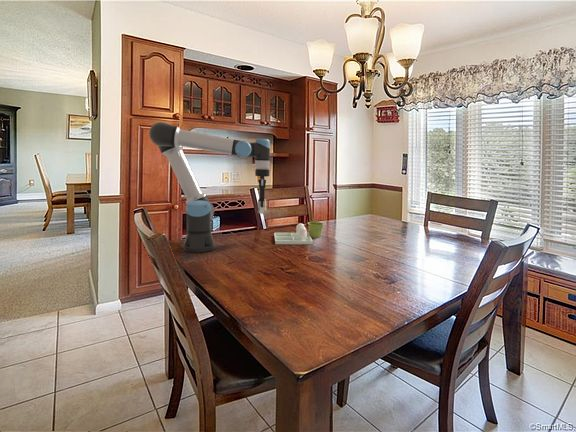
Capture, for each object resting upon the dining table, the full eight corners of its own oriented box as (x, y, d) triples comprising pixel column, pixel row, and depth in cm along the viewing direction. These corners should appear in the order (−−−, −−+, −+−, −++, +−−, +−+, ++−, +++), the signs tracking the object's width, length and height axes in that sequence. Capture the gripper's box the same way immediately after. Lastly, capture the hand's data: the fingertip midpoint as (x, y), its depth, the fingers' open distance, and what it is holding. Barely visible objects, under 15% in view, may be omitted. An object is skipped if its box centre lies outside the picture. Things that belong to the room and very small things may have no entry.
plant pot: (323, 236, 204) (324, 222, 203) (323, 240, 195) (324, 225, 193) (307, 235, 205) (308, 221, 203) (306, 239, 196) (307, 224, 194)
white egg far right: (298, 242, 184) (298, 227, 183) (297, 240, 189) (297, 226, 187) (306, 242, 184) (307, 227, 183) (305, 240, 189) (306, 226, 187)
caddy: (275, 245, 180) (275, 240, 180) (274, 236, 200) (274, 232, 199) (312, 245, 182) (312, 240, 181) (307, 237, 201) (308, 232, 201)
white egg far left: (296, 238, 193) (297, 224, 192) (295, 236, 198) (296, 222, 197) (304, 238, 194) (305, 224, 192) (303, 236, 198) (304, 222, 197)
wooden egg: (257, 213, 184) (257, 198, 182) (257, 212, 188) (257, 197, 187) (266, 213, 184) (266, 198, 182) (266, 212, 188) (266, 197, 187)
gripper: (269, 169, 174) (269, 215, 178) (269, 168, 191) (268, 209, 195) (254, 169, 173) (254, 214, 177) (255, 168, 190) (255, 209, 194)
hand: (261, 212), depth 186 cm, fingers closed on wooden egg, 4 cm apart
